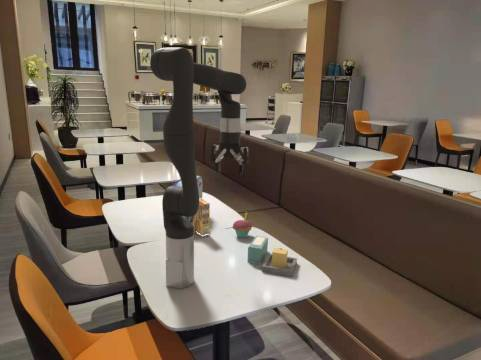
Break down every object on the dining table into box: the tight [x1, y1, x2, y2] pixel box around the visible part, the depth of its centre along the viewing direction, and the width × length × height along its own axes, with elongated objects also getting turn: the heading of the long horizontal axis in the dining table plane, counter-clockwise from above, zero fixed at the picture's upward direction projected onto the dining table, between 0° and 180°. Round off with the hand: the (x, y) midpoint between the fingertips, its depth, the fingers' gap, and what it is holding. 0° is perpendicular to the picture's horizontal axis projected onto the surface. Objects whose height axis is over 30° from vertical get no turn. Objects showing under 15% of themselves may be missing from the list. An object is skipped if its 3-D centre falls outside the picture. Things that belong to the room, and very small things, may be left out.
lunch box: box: [172, 175, 204, 223], centre depth 186 cm, size 28×10×22 cm, turn 171°
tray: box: [261, 253, 298, 277], centre depth 140 cm, size 11×11×2 cm
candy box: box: [192, 198, 211, 235], centre depth 168 cm, size 9×4×15 cm, turn 33°
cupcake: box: [232, 211, 253, 238], centre depth 167 cm, size 9×8×12 cm
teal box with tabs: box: [247, 235, 269, 265], centre depth 148 cm, size 12×5×6 cm, turn 163°
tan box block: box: [271, 247, 289, 269], centre depth 139 cm, size 4×5×6 cm
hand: (229, 173), depth 142 cm, fingers open, 8 cm apart
